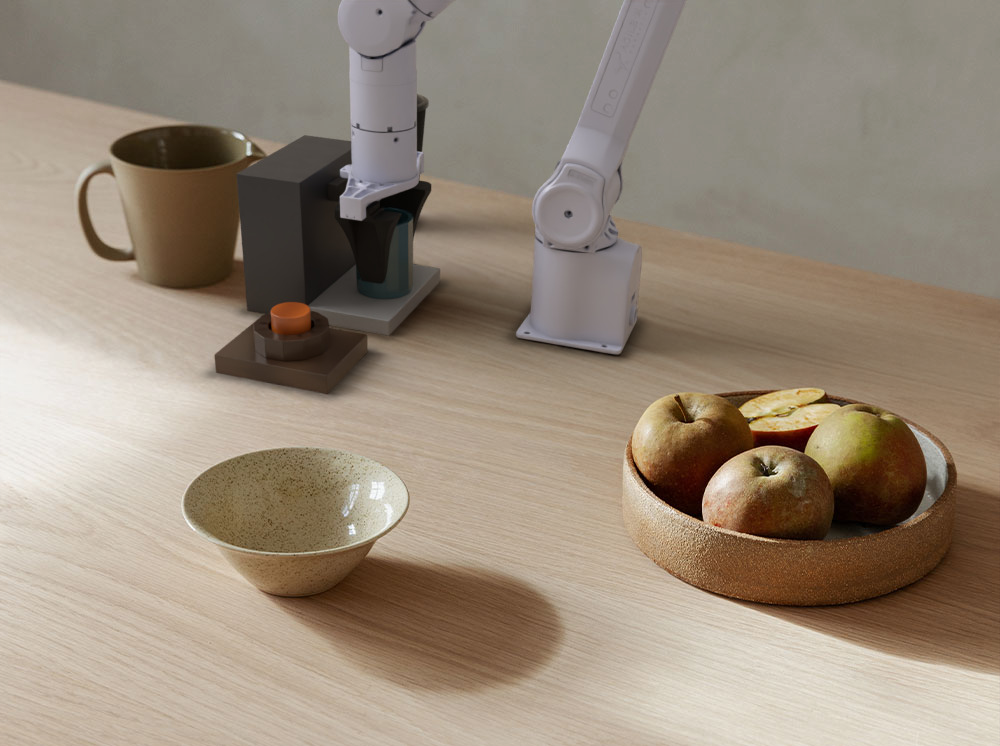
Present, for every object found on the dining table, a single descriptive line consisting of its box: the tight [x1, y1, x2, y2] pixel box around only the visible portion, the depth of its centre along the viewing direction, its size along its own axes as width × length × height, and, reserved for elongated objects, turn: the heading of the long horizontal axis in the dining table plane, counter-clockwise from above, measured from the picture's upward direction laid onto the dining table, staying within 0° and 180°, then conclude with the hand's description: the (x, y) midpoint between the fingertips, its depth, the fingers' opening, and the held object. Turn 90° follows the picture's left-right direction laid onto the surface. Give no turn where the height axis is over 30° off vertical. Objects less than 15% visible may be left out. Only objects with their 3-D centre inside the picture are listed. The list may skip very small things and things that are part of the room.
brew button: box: [271, 302, 311, 335], centre depth 90 cm, size 3×3×2 cm
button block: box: [214, 311, 369, 395], centre depth 91 cm, size 10×8×4 cm
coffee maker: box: [236, 134, 441, 337], centre depth 101 cm, size 14×13×13 cm
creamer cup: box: [356, 207, 414, 299], centre depth 101 cm, size 5×5×7 cm
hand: (385, 269), depth 102 cm, fingers closed on creamer cup, 5 cm apart
